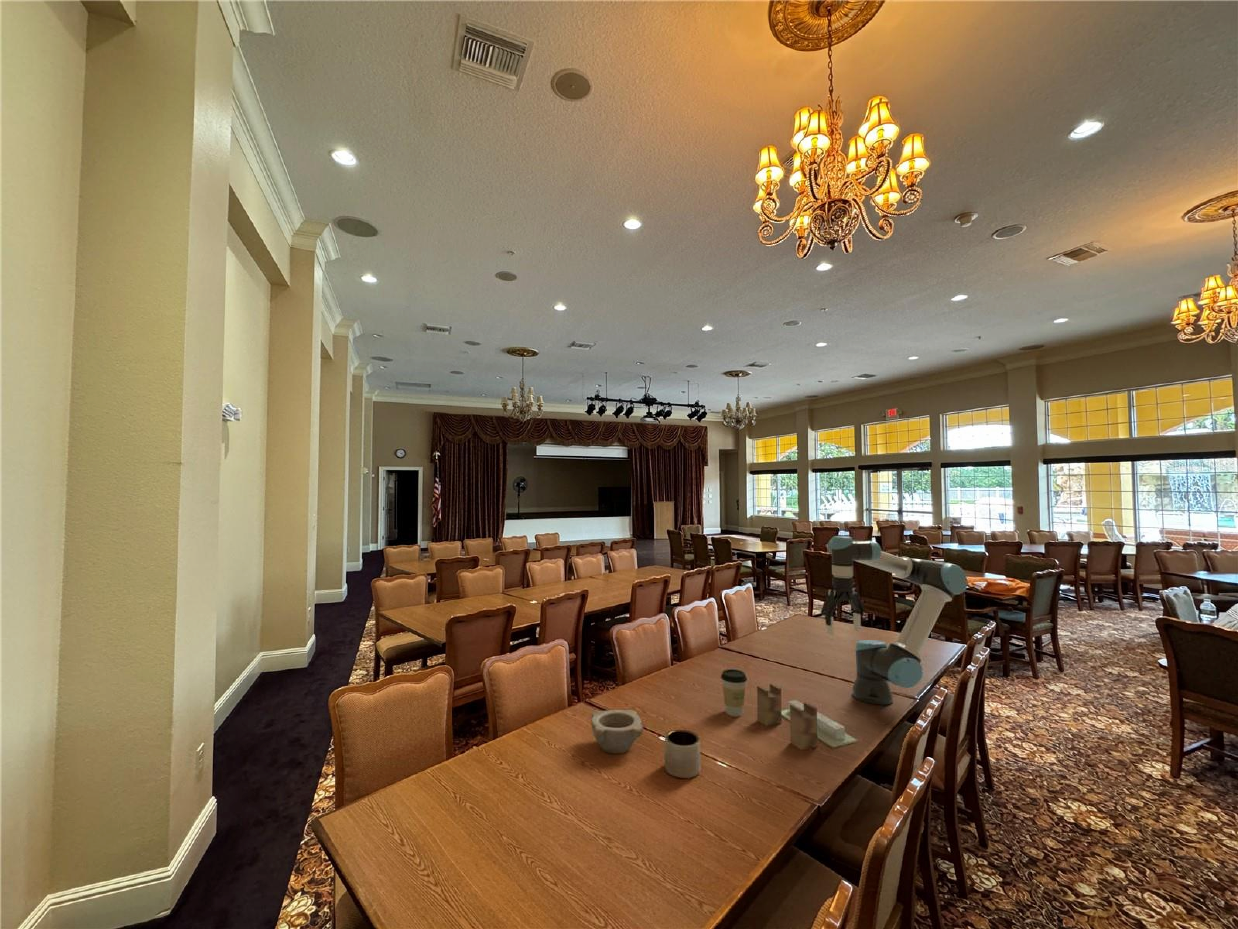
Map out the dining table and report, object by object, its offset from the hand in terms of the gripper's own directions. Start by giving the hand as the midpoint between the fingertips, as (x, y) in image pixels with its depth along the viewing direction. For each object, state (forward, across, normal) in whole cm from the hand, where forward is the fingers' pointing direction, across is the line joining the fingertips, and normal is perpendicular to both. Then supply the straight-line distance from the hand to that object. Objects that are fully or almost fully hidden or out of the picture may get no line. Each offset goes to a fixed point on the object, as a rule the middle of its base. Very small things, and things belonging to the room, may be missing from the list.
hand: (843, 632), depth 188 cm
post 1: (+32, +30, -7) cm, 44 cm away
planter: (+32, +76, +10) cm, 83 cm away
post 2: (+32, +30, +11) cm, 45 cm away
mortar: (+32, +90, -10) cm, 96 cm away
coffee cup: (+32, +38, -18) cm, 53 cm away
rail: (+31, +17, +2) cm, 35 cm away
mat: (+32, +17, +2) cm, 36 cm away
